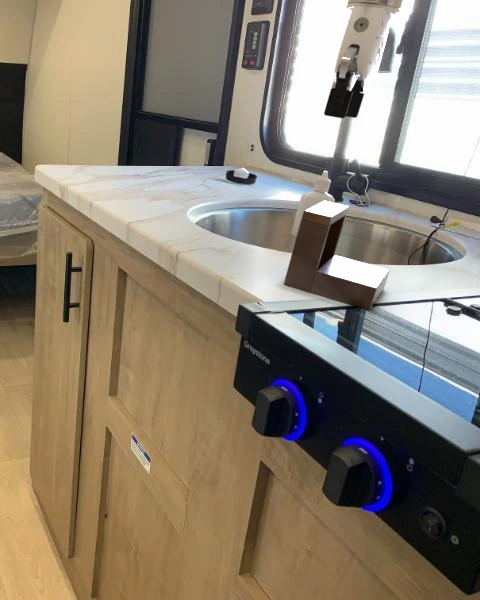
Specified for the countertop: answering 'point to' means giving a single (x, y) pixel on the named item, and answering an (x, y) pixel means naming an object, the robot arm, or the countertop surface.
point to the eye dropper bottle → (313, 199)
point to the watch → (241, 176)
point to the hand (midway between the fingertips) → (340, 116)
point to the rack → (331, 260)
